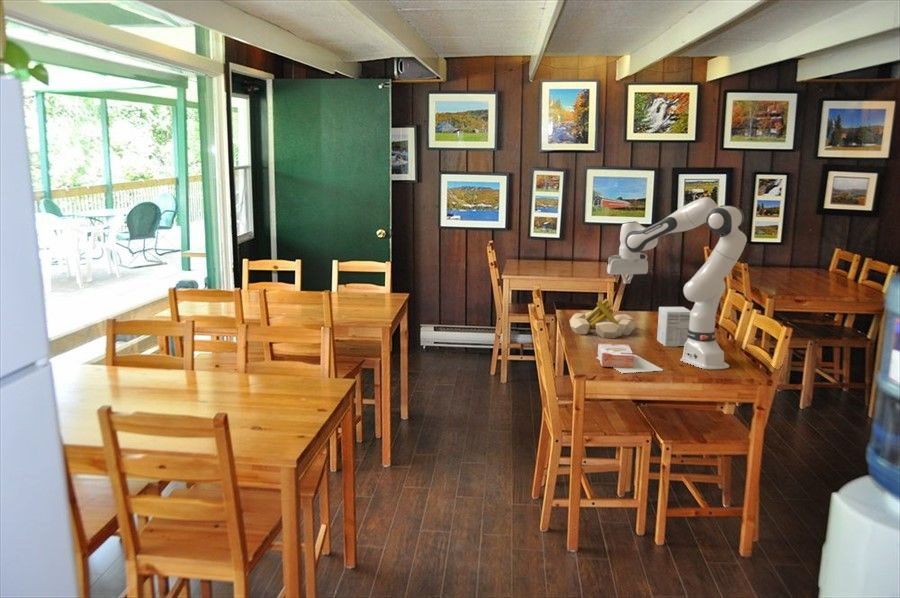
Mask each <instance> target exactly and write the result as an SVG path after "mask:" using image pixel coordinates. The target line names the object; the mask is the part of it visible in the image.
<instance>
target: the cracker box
mask: <svg viewBox="0 0 900 598" xmlns="http://www.w3.org/2000/svg"><path fill="white" fill-rule="evenodd" d="M634 355H635V354H634V353H633V351H632V349H631V347H630V345H629V343H605V342H604V343H602V342H601V343H600V342H599V343H597V357H599V359H598V361H599V363H600V365H601V367H610V368H612V367H633V366H634Z"/></svg>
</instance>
